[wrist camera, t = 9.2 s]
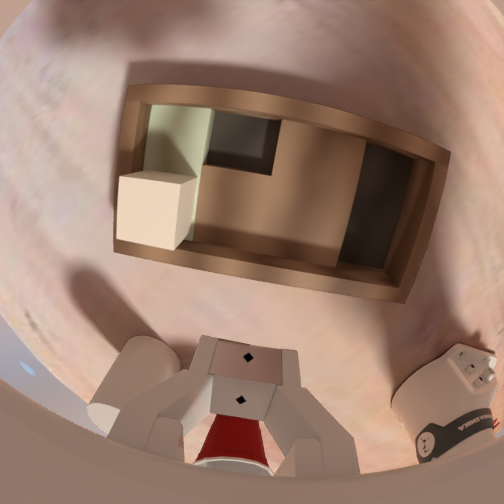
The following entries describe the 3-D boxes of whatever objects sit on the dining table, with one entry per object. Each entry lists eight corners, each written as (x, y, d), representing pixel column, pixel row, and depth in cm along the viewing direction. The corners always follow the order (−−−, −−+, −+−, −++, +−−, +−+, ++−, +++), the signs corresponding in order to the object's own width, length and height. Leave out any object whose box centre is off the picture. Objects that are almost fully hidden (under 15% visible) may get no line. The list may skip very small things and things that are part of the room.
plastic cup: (290, 409, 36) (292, 478, 25) (247, 436, 40) (241, 496, 28) (228, 379, 34) (215, 455, 23) (190, 411, 38) (174, 474, 26)
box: (426, 149, 23) (450, 151, 18) (389, 283, 28) (404, 303, 24) (149, 93, 22) (128, 84, 18) (133, 237, 28) (113, 252, 24)
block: (197, 176, 23) (180, 184, 19) (190, 231, 25) (173, 250, 20) (145, 170, 23) (119, 176, 19) (141, 222, 25) (116, 238, 20)
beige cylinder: (123, 365, 35) (89, 426, 24) (127, 326, 32) (84, 391, 21) (174, 386, 36) (151, 453, 24) (186, 350, 33) (158, 426, 22)
